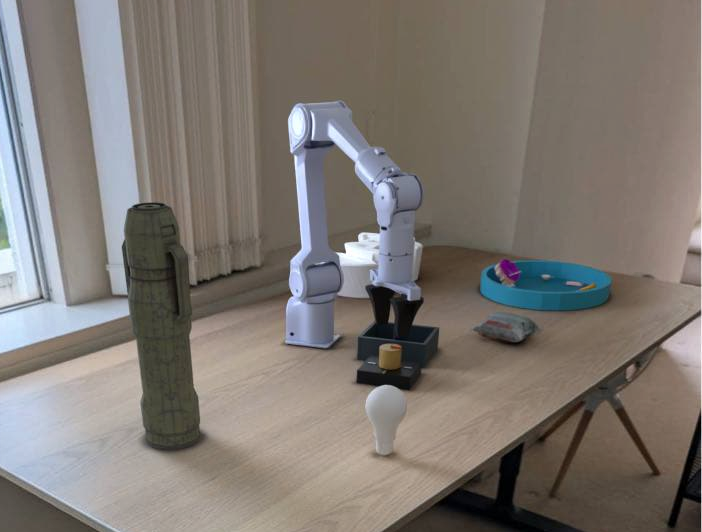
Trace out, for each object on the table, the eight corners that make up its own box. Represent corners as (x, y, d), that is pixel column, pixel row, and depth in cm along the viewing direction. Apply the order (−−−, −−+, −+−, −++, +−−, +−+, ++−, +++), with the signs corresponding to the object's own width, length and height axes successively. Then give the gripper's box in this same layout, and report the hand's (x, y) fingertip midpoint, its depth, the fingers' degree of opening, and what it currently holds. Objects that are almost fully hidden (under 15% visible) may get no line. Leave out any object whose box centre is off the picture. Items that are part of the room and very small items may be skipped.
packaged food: (520, 350, 160) (523, 326, 158) (467, 338, 167) (470, 315, 164) (540, 339, 166) (543, 316, 163) (488, 328, 172) (491, 305, 170)
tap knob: (375, 368, 146) (376, 347, 144) (382, 360, 149) (383, 340, 147) (397, 370, 145) (398, 350, 143) (403, 363, 148) (404, 343, 146)
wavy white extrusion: (365, 307, 186) (366, 260, 181) (306, 296, 195) (306, 251, 189) (434, 273, 211) (437, 231, 205) (379, 265, 219) (381, 224, 213)
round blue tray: (509, 270, 213) (512, 247, 210) (625, 286, 198) (629, 262, 195) (459, 297, 192) (461, 272, 189) (583, 318, 177) (588, 291, 174)
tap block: (356, 383, 147) (356, 369, 145) (369, 368, 153) (370, 354, 152) (409, 390, 144) (410, 376, 142) (421, 374, 150) (422, 360, 149)
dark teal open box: (357, 359, 157) (357, 336, 155) (373, 342, 166) (374, 320, 163) (424, 368, 153) (425, 344, 150) (437, 349, 161) (439, 327, 159)
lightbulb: (360, 446, 125) (363, 379, 119) (399, 444, 125) (403, 377, 119) (367, 464, 120) (369, 395, 114) (407, 462, 120) (412, 393, 114)
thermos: (185, 457, 122) (162, 215, 104) (127, 440, 128) (94, 207, 109) (220, 435, 129) (203, 203, 110) (163, 420, 134) (138, 196, 116)
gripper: (355, 246, 141) (353, 322, 148) (395, 264, 130) (392, 346, 137) (390, 242, 144) (387, 317, 151) (433, 259, 132) (427, 340, 139)
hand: (392, 330), depth 144 cm, fingers open, 7 cm apart
